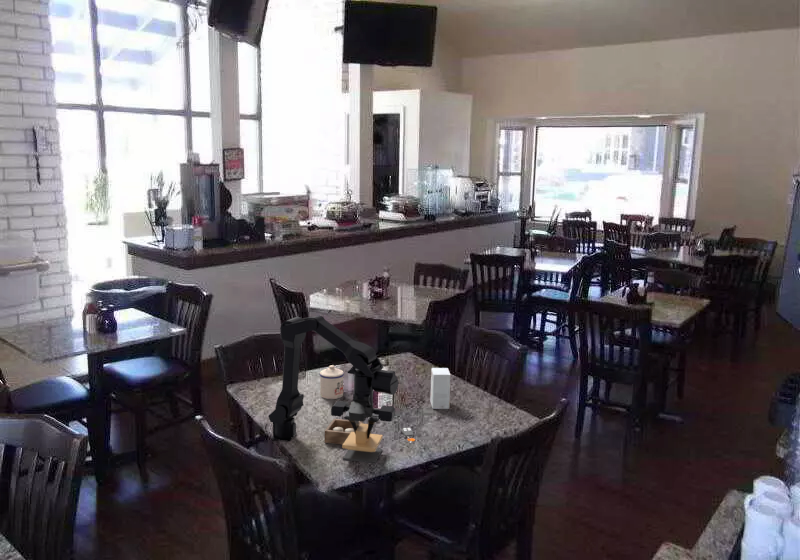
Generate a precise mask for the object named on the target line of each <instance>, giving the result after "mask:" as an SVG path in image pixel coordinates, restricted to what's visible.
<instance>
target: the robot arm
mask: <svg viewBox="0 0 800 560" xmlns="http://www.w3.org/2000/svg"><path fill="white" fill-rule="evenodd" d="M279 331H280V332H279V333H280V340H281V342H282V344H283V345H284V354H283V355H284V356H283V367H282V385H281V386H282V387H281V390H280V393H279V394H278V397H277V398H276V403H275V408H274V410H273V411H271V413H270V414H268V416H267V417H268V419H269V422H270V423H272V436H271V437H270V439H271V440H275V441H284V442H291V441H292V439H293V438H294V437H295V436H296V435H297V422H295V417H296V416H297V415H298V413H299V412H300V411H301V410H302V407H303V406H304V397H305V395H304V393H301V392H300V391H299V374H300V373H299V372H300V371H299V370H300V359H301V358H300V357H301V356H300V355H301V347H302V345H303V342H304V340H305V338H306V335H307V333H308V332H312V331H313V332H315V333H316V334H317V335H318V336H320V337H322V338H323V339H324V340H326V341H327V342H328V343H329V344H331V345H332V346H334V347H335V348H336V349H338V350H339V351H340V352H341V353H342V354H343V355H344V356H345V358H346V360H347V362H348V363H349V364H351V366H352V367H351V368H350V369H349V370H347V372H346V373H347V374H351V375H353V394H352V395H353V396H352V400H351V403H349V402H348V401H342V400H337V401H335V403H334V404H333V405H332V406H331V409H330V416H332V417H341V416H343V415H344V413H345V415H344V416H345V417H344V420H349V421H350V422H351V424H352V426H353V429H354V432H355V435H356V430H357V428H358V427H359V421H360V422H363V423H364V422H365V421H366V419H368V420H367V424H368V431H367V439H369V437H370V434H372V431H373V428H374V425H375V424H376V423H379V421H381V422H392V421H393V419H394V418H395V416H396V408H395V406H393V405H382V406H381V407H380V408H378V407H377V408H375V407H374V392H376V393H382V394H385V395H386V394H387V395H392V396H394V395H395V394H396V393H397V391H398V388H399V378H398V376H397V375H396V371H395V370H385V369H384V365H383V364H382V363H381V360H380V359H379V357H378V356H377V353H376V350H375V349H374V347H372V346H370V345H368V344H366V343H364V342H361V341H357V340H355V339H353V338H351V337H350V336H348V335H347V334H346V333H345V332H343V331H341V330H340V328H339V329H338V328H337V327H336V326H334V325H333V324H331V323H330V322H329V321H328V320H326V319H325V318H324V316H322V315H319V314H318V315H315V316H311V317H310V316H309V317H304V318H302V317H301V316H295V317H293V318H290V319H288V320H286V321H283V322H282V323H281V325H280V327H279ZM371 365H372V366H371ZM369 366H371V367H369ZM349 404H350V405H349Z"/></svg>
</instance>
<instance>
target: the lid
mask: <svg viewBox="0 0 800 560" xmlns="http://www.w3.org/2000/svg"><path fill="white" fill-rule="evenodd" d="M367 431H368V423H364V422H363V423H361V424H360V425H359V427H358V428H357V430H356V435H355V432H351V433H350V435H349V436H348V438H347V439H346V441H345V442H344V443H343V445H342V444H341V447H342V449H346V450H347V451H348V450H356V451H365V452H375V451H376V449H377V448H379V445H380V444H381V442H382V440H383V437H384V436H383V434H377V433H371V434H370V437H369V439H367Z"/></svg>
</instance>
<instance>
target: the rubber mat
mask: <svg viewBox="0 0 800 560" xmlns="http://www.w3.org/2000/svg"><path fill="white" fill-rule="evenodd" d="M382 451H383V448H379V447H377V449H376V451H375V452H365V451H356V450H347V451H346V453H344V456H343V457H342V459H343V460H344V461H352V462H353V461H354V462H362V463H370V464H371V463H372V464H376V463H377V461H378V459H379V457H380V456H381V453H382Z"/></svg>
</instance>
